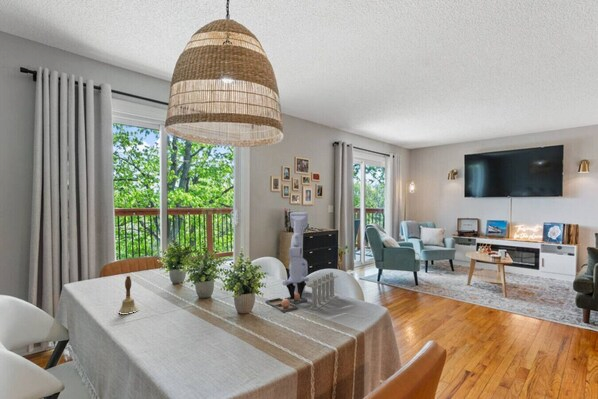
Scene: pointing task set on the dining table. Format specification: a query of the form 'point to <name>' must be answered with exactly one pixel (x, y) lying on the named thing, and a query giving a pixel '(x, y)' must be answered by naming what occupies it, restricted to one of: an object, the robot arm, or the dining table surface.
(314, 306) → the test tube rack
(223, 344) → the dining table surface
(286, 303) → the ball
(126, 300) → the hand bell
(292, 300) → the shallow grey square tray
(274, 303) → the pair tray
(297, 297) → the terracotta ball
